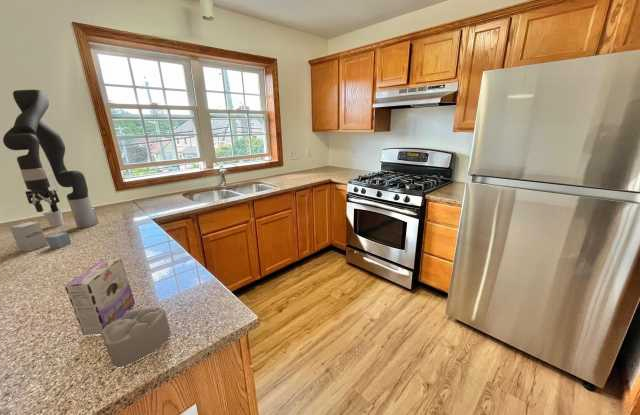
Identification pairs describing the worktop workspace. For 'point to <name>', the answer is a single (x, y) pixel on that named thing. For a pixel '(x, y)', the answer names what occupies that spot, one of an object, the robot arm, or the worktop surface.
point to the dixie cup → (54, 218)
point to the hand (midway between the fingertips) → (47, 211)
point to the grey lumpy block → (135, 335)
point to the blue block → (58, 240)
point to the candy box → (100, 295)
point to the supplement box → (28, 236)
